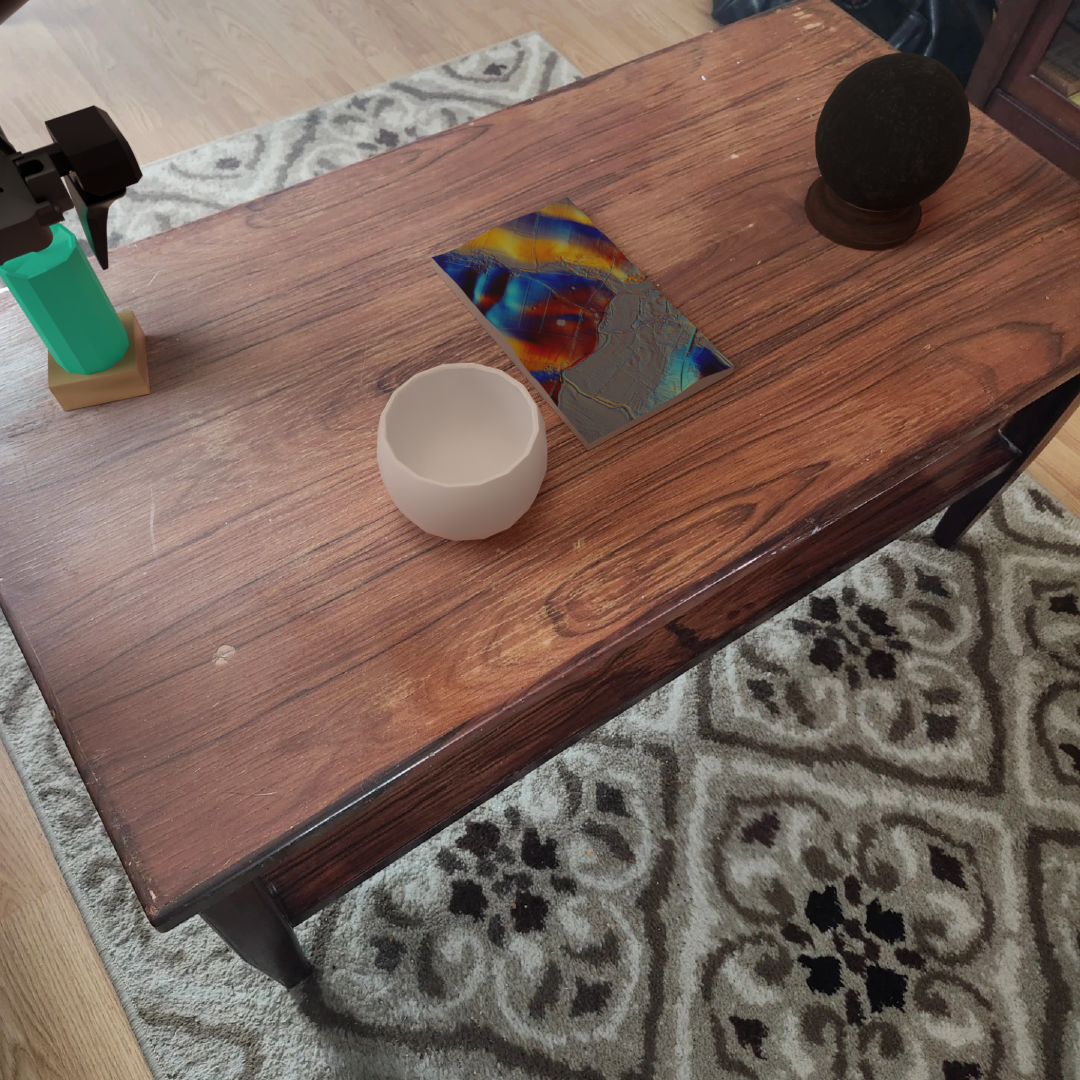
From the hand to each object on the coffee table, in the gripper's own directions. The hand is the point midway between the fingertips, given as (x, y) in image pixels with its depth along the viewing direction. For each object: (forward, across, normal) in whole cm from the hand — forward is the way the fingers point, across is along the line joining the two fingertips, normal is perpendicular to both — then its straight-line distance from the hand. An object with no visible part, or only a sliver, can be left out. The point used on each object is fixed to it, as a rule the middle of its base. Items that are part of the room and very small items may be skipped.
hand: (41, 290), depth 65 cm
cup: (+13, +20, -25) cm, 34 cm away
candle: (+10, +1, +4) cm, 10 cm away
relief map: (+12, +38, -14) cm, 43 cm away
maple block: (+13, +1, +4) cm, 13 cm away
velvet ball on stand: (+12, +70, -17) cm, 73 cm away
